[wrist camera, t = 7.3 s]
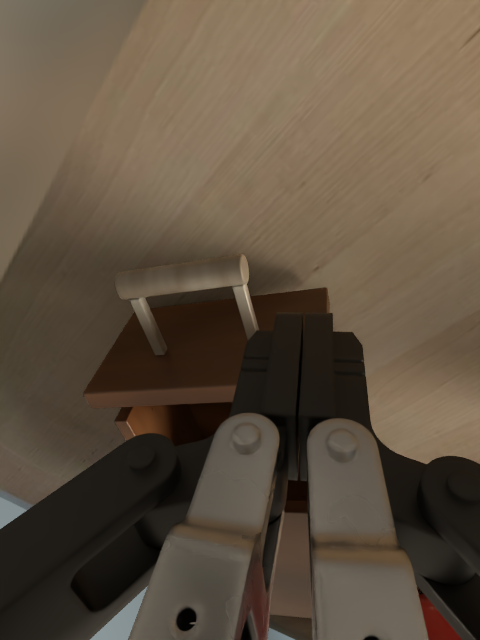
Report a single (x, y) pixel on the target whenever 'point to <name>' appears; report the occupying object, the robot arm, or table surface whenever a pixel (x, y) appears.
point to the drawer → (188, 350)
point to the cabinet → (292, 565)
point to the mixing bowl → (436, 622)
